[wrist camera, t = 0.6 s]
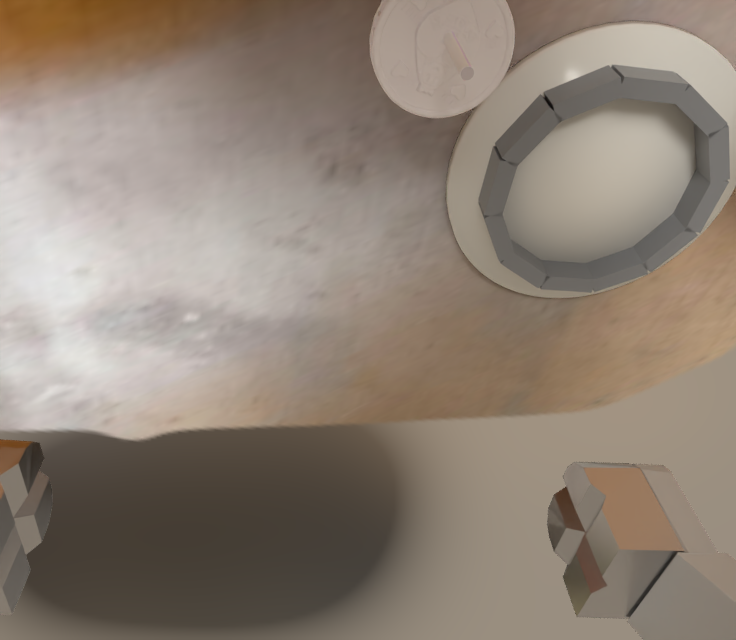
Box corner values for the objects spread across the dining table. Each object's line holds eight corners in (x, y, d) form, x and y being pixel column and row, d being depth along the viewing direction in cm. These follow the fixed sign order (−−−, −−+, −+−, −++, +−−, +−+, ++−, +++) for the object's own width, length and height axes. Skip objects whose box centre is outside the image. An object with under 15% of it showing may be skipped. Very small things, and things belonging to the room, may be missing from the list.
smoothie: (495, -49, 33) (577, 34, 23) (444, 67, 37) (494, 182, 27) (384, -98, 31) (417, -33, 21) (343, 29, 35) (354, 136, 25)
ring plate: (487, 0, 35) (498, 16, 32) (807, 41, 37) (838, 58, 35) (421, 281, 48) (426, 306, 45) (662, 297, 50) (678, 322, 48)
